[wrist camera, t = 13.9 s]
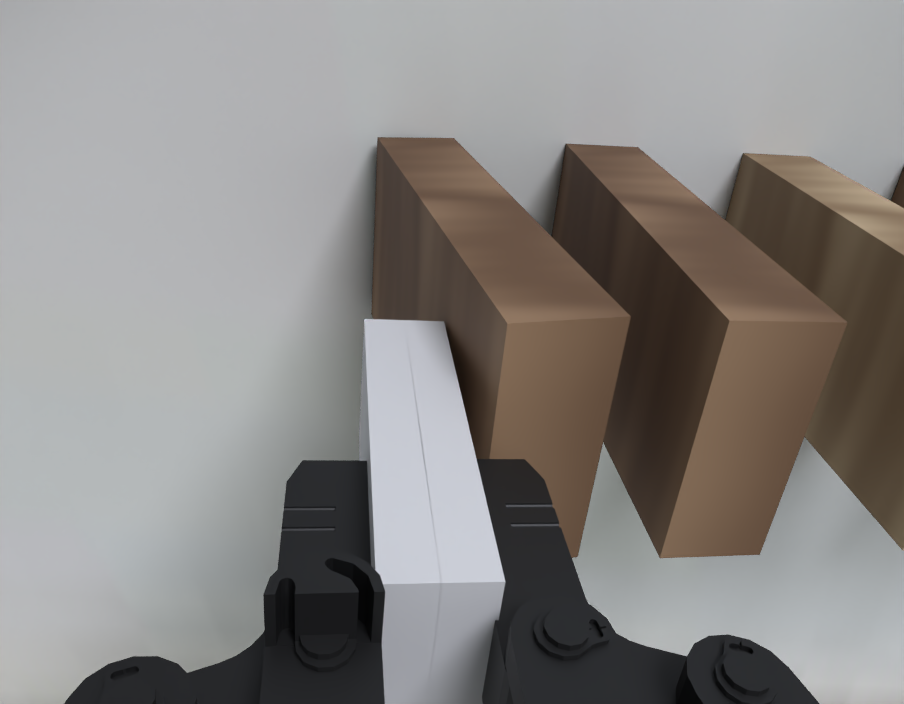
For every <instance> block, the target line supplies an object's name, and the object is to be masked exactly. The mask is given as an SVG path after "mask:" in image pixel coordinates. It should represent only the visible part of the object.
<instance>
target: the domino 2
mask: <svg viewBox="0 0 904 704" xmlns="http://www.w3.org/2000/svg"><path fill="white" fill-rule="evenodd" d="M552 238H553V239H554V240H555V241H556V242H557V243H558V244H559V245H560V246H561V247H562V248H563V249H564V250H565V251H566V252H567V253H568V254H569V255H570V256H571V257H572V258H573V259H574V260H575V261H576V262H577V263H578V264H579V265H580V266H581V267H582V268H583V269H584V270H585V271H586V272H587V273H588V274H589V275H590V276H591V277H592V278H593V279H594V280H595V281H596V282H597V283H598V284H599V285H600V286H601V287H602V288H603V289H604V290H605V291H606V292H607V293H608V294H609V295H610V296H611V297H612V298H613V299H614V300H615V301H616V302H617V303H618V304H619V305H620V306H621V307H622V308H623V309H624V310H625V311H626V312H627V313H628V314H629V315H630V316H631V318H630V322H629V327H628V331H627V336H626V340H625V345H624V349H623V354H622V358H621V363H620V367H619V372H618V376H617V381H616V385H615V390H614V394H613V399H612V403H611V408H610V412H609V417H608V421H607V426H606V430H605V435H604V439H603V442H604V445H605V447H606V449H607V451H608V453H609V455H610V457H611V459H612V461H613V463H614V465H615V467H616V469H617V471H618V473H619V475H620V477H621V479H622V481H623V483H624V485H625V488H626V490H627V492H628V494H629V496H630V498H631V500H632V502H633V504H634V506H635V508H636V510H637V512H638V514H639V516H640V518H641V520H642V522H643V524H644V526H645V528H646V531H647V533H648V535H649V537H650V539H651V541H652V543H653V545H654V547H655V549H656V551H657V553H658V555H659V557H660V558H675V557H704V556H733V555H760V552H761V550H762V547H763V544H764V542H765V539H766V536H767V534H768V531H769V528H770V526H771V523H772V521H773V518H774V515H775V513H776V510H777V507H778V505H779V502H780V499H781V497H782V494H783V492H784V489H785V486H786V484H787V481H788V478H789V476H790V473H791V470H792V468H793V465H794V463H795V460H796V457H797V455H798V452H799V449H800V447H801V444H802V441H803V439H804V436H805V434H806V431H807V428H808V426H809V423H810V420H811V418H812V415H813V412H814V410H815V407H816V404H817V402H818V399H819V397H820V394H821V391H822V389H823V386H824V383H825V381H826V378H827V375H828V373H829V370H830V368H831V365H832V362H833V360H834V357H835V354H836V352H837V349H838V346H839V344H840V341H841V339H842V336H843V333H844V331H845V328H846V325H847V323H848V322H847V321H845V320H844V319H843V318H842V317H841V316H839V315H838V314H837V313H836V312H835V311H833V310H832V309H831V308H830V307H829V306H827V305H826V304H825V303H824V302H823V301H821V300H820V299H819V298H818V297H817V296H815V295H814V294H813V293H812V292H811V291H809V290H808V289H807V288H806V287H805V286H803V285H802V284H801V283H800V282H799V281H797V280H796V279H795V278H794V277H793V276H791V275H790V274H789V273H788V272H787V271H785V270H784V269H783V268H782V267H781V266H779V265H778V264H777V263H776V262H775V261H773V260H772V259H771V258H770V257H769V256H767V255H766V254H765V253H764V252H763V251H761V250H760V249H759V248H758V247H757V246H755V245H754V244H753V243H752V242H751V241H749V240H748V239H747V238H746V237H745V236H744V235H742V234H741V233H740V232H739V231H738V230H736V229H735V228H734V227H733V226H732V225H730V224H729V223H728V222H727V221H726V220H724V219H723V218H722V217H721V216H720V215H718V214H717V213H716V212H715V211H714V210H712V209H711V208H710V207H709V206H708V205H706V204H705V203H704V202H703V201H702V200H700V199H699V198H698V197H697V196H696V195H694V194H693V193H692V192H691V191H690V190H688V189H687V188H686V187H685V186H684V185H682V184H681V183H680V182H679V181H678V180H676V179H675V178H674V177H673V176H672V175H670V174H669V173H668V172H667V171H666V170H664V169H663V168H662V167H661V166H660V165H658V164H657V163H656V162H655V161H654V160H652V159H651V158H650V157H649V156H648V155H646V154H645V153H644V152H643V151H642V150H640V149H639V148H638V147H620V146H600V145H580V144H566V147H565V153H564V160H563V166H562V173H561V179H560V185H559V192H558V198H557V205H556V211H555V218H554V224H553V230H552Z"/></svg>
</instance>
